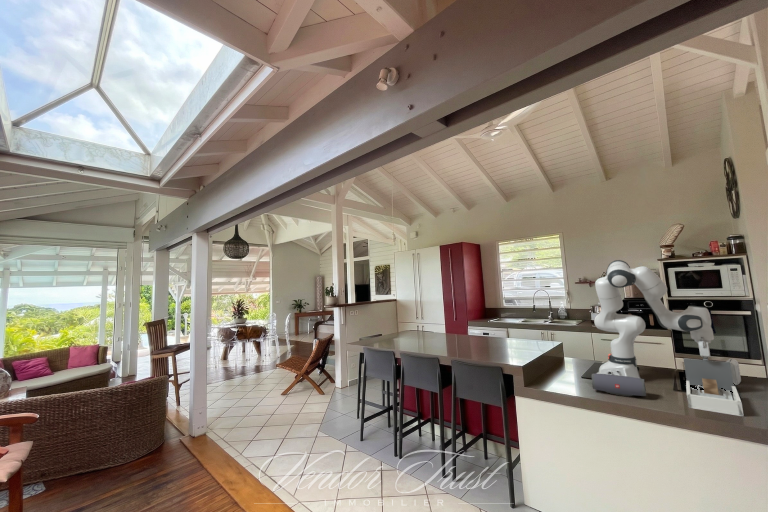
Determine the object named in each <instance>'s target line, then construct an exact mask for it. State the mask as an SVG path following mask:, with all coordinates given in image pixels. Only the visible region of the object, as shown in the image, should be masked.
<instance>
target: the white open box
mask: <svg viewBox="0 0 768 512" xmlns="http://www.w3.org/2000/svg"><path fill="white" fill-rule="evenodd" d="M685 382H686V383H685V384H686V386H685V387H686V400H687V405H688V408H689V409H696V410H702V411H708V412H713V413H720V414H725V415H733V416H738V417H745V416H744V410H743V404H742V400H741V398H740V395H739V391H738V390H737V387H736V385H734V386H732V392H733V393H732V392H731V393H732V398H733V400H727V399H720V398H713V397H706V396H699V395H692V388H691V387H690V382H689V381H687V380H686V381H685Z"/></svg>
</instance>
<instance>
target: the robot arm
mask: <svg viewBox="0 0 768 512" xmlns="http://www.w3.org/2000/svg"><path fill="white" fill-rule="evenodd" d="M594 285H595V291H596V292H595V293H596V295H597V298H598V302H599V304H600V312H599V313H598V314H596V316H595V317H594V321H593V322H594V323H593V324H594V325H595V327H596V328H597V329H598V330H600V331H604V332H610V333H618V334H619V335H618V337H617V338H614V339H612V340H611V341H610V344H609V345H610V352H611V353H608V355H607V359H608V361H606V362H605V363H602V364H601V365H600V367H599V368H598V371H597V372H596V373H595V374H610V375H620V376H628V377H635V378H641V376H640V373H639V370H638V367H637V366H638V362H637V358H636V357H637V356H636V355H635V346H634V344H635V343H634V342H635V341H636V339H637V337H638V336H639V335H640V334H643V332H644V331H645V330H646V322H645V320H644V319H643V318H642V317H641V316H638V315H635V314H623V313H617V312H619V310H620V311H621V309H622V308H623V307H624V302H623V299H622V296H621V292H620V290H619V289H622V288H626V287H630V286H631V287H632V286H633V285H635V286H636V288H637V289H638V290H639V291H640V292H641V294H642V296H643V298H644V301H645V302H646V304H647V306H649V308H650V309H651V311H652V312H653V313H654V315H655V317H656V320H657V323H658V324H659V326H660V327H661V328H664V329H668V330H669V329H671V330H675V331H680V332H689V333H690V339H692V340H694V343H697V346H698V349H699V355H700V357H702V360H709V358H711V352H710V351H711V350H710V346H709V344H711V343H712V341H714V340H715V337H714V331H713V330H714V329H713V328H712V319H711V314H710V312H709V309H708V308H707V307H705V306H697V305H688V307H687V308H685V310H683V311H680V312H675V311H672V310H670V309H668V308H667V307H666V306H665V304H664V303H663V302H662V300H661V299H662V298H663V297H665V295H666V294H667V292H668V287H667V285H666V283H665V282H664V281H663V279H661V278H660V276H659V275H657V274H656V272H655V271H653V270H652V269H650V268H649V267H648V266H645V265H644V266H643V265H642V266H638V267H637V266H636V267H635V268H631V267H630V264H628V262H626V261H624V260H621V259H616V260H613V261H611V262H610V263H609V264H608V266H607V269H606V271H605V276H602V277H599V278H597V279H596V281H595V282H594Z"/></svg>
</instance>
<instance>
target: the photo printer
mask: <svg viewBox="0 0 768 512" xmlns="http://www.w3.org/2000/svg"><path fill="white" fill-rule="evenodd" d="M725 362H730V365H731V371H732V377H733V383H734V384H735V385H734V386H737V385H739V384H740V383H741V382H742V378H741V376H742V375H741V372H740V365H739V362H738V360H736V359H735V358H728V359H727V360H725Z"/></svg>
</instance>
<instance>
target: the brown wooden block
mask: <svg viewBox="0 0 768 512" xmlns="http://www.w3.org/2000/svg"><path fill="white" fill-rule="evenodd" d="M702 382H703V389H704V393H706V394H714V395H719V393H718V387H717V382H716V380H713V379H704V378H702Z"/></svg>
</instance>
